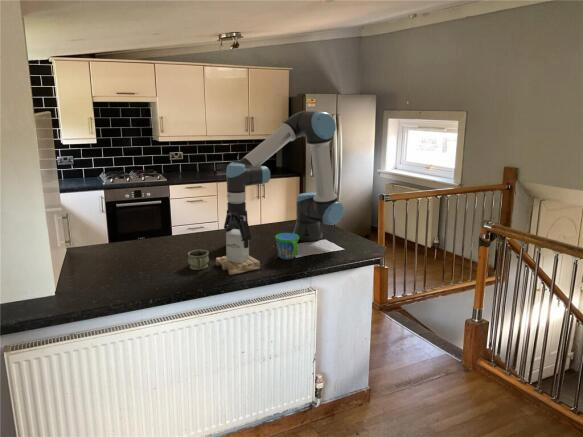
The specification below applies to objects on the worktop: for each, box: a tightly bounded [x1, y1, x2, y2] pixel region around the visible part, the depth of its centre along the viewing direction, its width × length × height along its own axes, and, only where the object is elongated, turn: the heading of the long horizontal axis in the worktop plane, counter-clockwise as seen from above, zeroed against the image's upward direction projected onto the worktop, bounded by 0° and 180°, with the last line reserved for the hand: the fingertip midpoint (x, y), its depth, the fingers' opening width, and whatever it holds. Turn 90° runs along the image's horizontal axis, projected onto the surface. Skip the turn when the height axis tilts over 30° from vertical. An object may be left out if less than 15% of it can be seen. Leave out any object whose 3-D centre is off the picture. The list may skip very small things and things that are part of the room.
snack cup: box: [274, 232, 300, 261], centre depth 209 cm, size 16×10×10 cm
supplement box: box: [225, 229, 250, 263], centre depth 196 cm, size 7×7×13 cm
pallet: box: [215, 255, 261, 276], centre depth 198 cm, size 14×14×3 cm
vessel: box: [187, 249, 210, 271], centre depth 198 cm, size 12×9×6 cm
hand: (237, 250), depth 197 cm, fingers open, 13 cm apart
